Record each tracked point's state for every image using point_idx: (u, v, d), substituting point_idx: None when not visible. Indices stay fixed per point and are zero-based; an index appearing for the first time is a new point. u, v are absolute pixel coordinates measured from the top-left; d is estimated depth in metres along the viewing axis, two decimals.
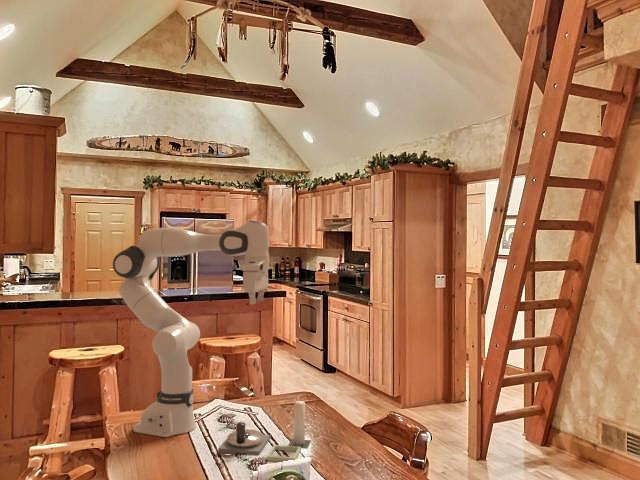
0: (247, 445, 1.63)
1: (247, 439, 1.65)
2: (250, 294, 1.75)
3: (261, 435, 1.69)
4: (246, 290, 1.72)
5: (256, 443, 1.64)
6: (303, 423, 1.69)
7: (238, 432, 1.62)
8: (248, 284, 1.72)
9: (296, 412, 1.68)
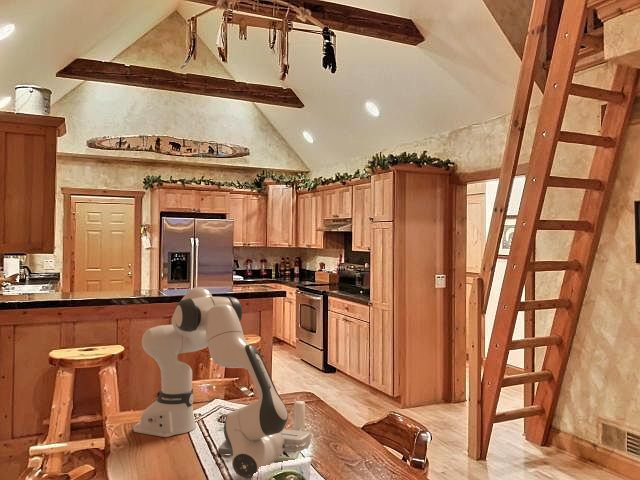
0: None
1: None
2: None
3: None
4: None
5: None
6: (303, 423, 1.69)
7: None
8: None
9: (296, 412, 1.68)
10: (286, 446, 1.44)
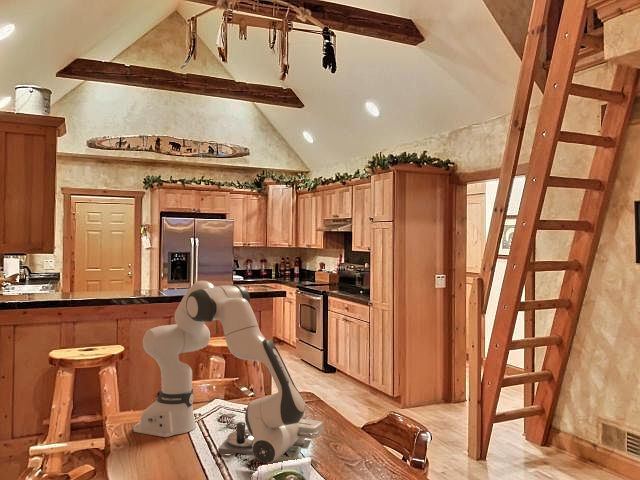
0: (247, 445, 1.63)
1: (247, 439, 1.65)
2: None
3: None
4: None
5: None
6: None
7: (238, 432, 1.62)
8: None
9: None
10: (301, 434, 1.56)
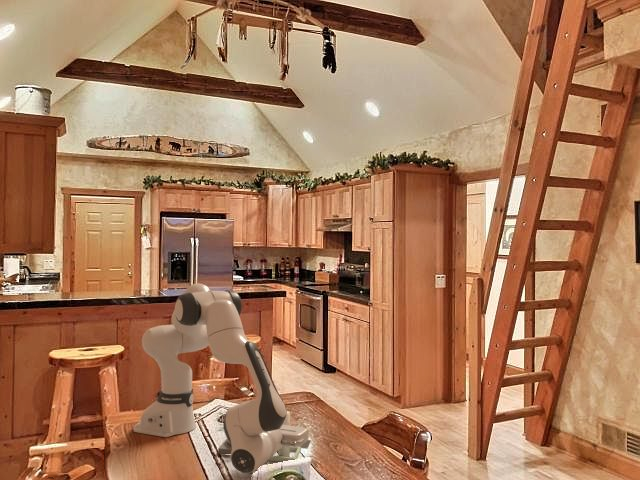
0: None
1: None
2: None
3: None
4: None
5: None
6: None
7: None
8: None
9: None
10: (284, 441, 1.46)
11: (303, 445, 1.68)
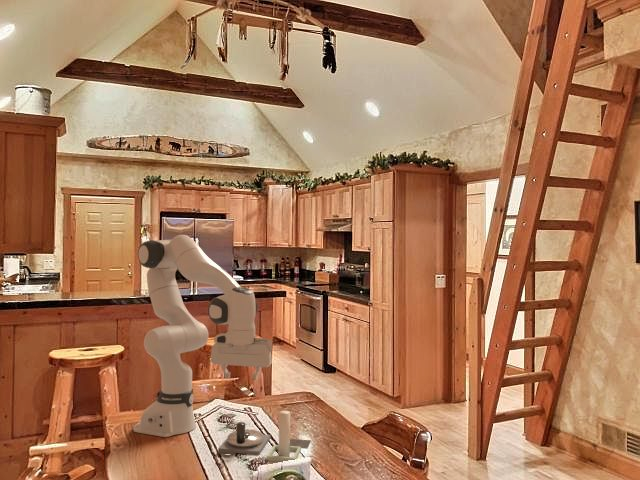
0: (247, 445, 1.63)
1: (247, 439, 1.65)
2: None
3: (261, 435, 1.69)
4: None
5: (256, 443, 1.64)
6: (288, 434, 1.59)
7: (238, 432, 1.62)
8: None
9: (281, 422, 1.59)
10: (257, 338, 1.63)
11: (303, 445, 1.68)
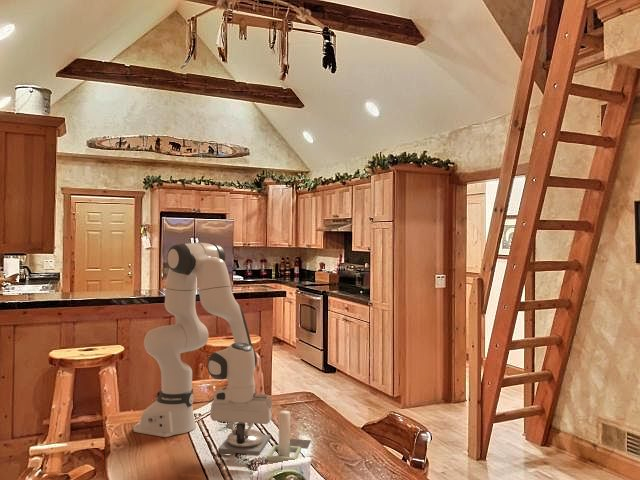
0: (247, 445, 1.63)
1: (247, 439, 1.65)
2: None
3: (261, 435, 1.69)
4: None
5: (256, 443, 1.64)
6: (288, 434, 1.59)
7: (238, 432, 1.62)
8: None
9: (280, 422, 1.59)
10: (257, 394, 1.63)
11: (303, 445, 1.68)
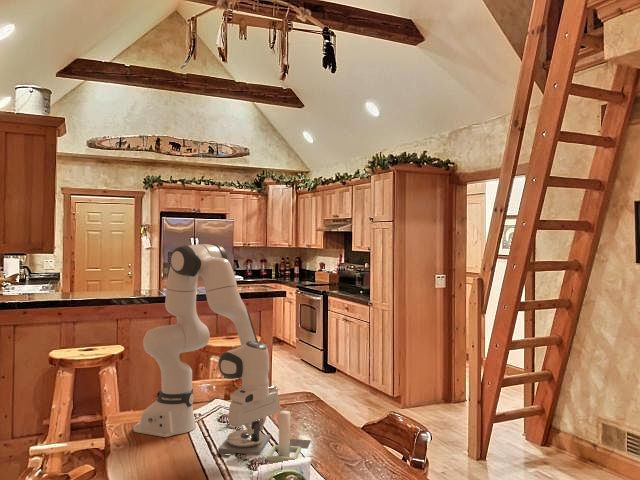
0: (261, 440, 1.67)
1: None
2: (245, 424, 1.63)
3: None
4: None
5: (262, 436, 1.70)
6: (288, 434, 1.59)
7: (257, 430, 1.64)
8: (232, 418, 1.58)
9: (281, 422, 1.59)
10: None
11: (303, 445, 1.68)
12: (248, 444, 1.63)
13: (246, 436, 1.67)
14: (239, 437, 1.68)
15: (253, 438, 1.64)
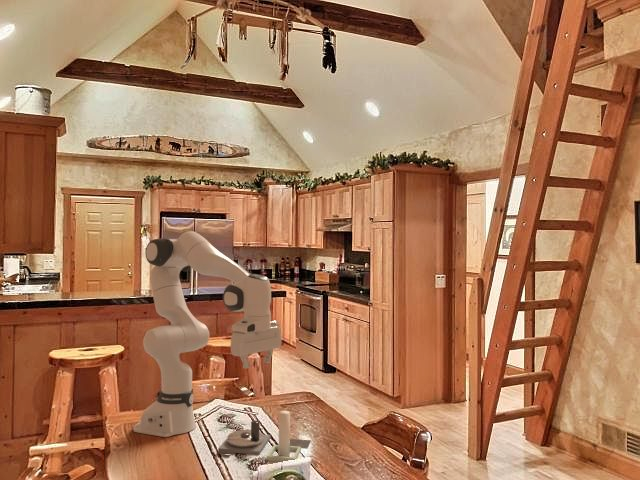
0: (261, 440, 1.67)
1: None
2: (241, 357, 1.59)
3: None
4: (232, 353, 1.57)
5: (262, 436, 1.70)
6: (288, 434, 1.59)
7: (257, 430, 1.64)
8: (234, 347, 1.56)
9: (280, 422, 1.59)
10: None
11: (303, 445, 1.68)
12: (248, 444, 1.63)
13: (246, 436, 1.67)
14: (239, 437, 1.68)
15: (253, 438, 1.64)
